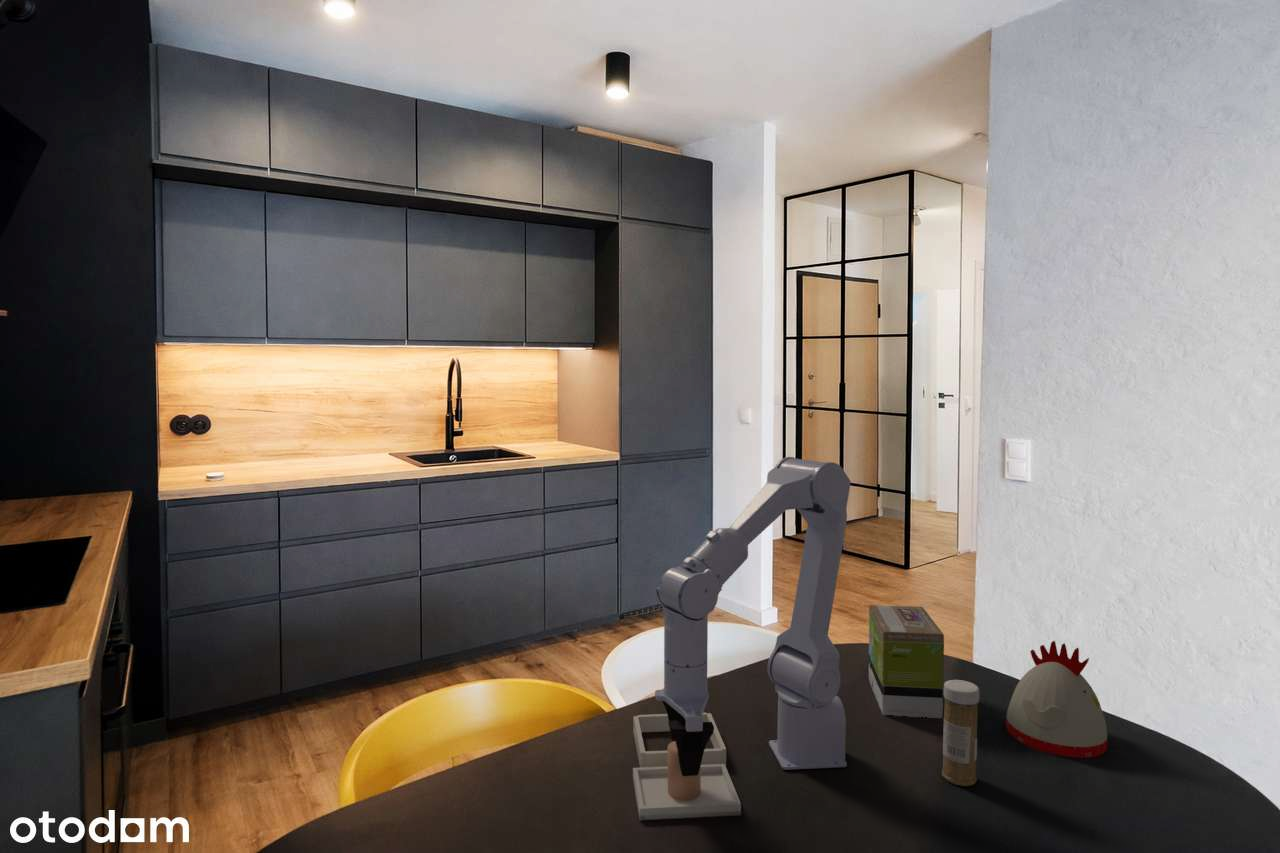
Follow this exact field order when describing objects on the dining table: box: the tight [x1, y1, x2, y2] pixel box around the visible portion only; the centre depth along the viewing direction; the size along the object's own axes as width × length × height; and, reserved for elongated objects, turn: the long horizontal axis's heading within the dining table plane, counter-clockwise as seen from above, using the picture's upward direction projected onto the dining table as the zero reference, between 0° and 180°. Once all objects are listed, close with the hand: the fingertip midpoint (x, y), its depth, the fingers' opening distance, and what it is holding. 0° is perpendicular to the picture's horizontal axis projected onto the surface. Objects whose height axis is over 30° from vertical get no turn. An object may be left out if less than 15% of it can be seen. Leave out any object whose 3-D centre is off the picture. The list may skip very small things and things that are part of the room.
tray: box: [632, 764, 742, 821], centre depth 99 cm, size 13×10×2 cm
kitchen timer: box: [1005, 640, 1108, 759], centre depth 117 cm, size 14×14×15 cm
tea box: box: [868, 604, 945, 719], centre depth 130 cm, size 15×10×15 cm
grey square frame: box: [632, 712, 727, 768], centre depth 112 cm, size 12×12×2 cm
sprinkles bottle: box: [941, 679, 980, 787], centre depth 104 cm, size 5×5×14 cm
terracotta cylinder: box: [666, 741, 701, 801], centre depth 99 cm, size 4×4×6 cm
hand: (685, 759), depth 99 cm, fingers open, 7 cm apart
